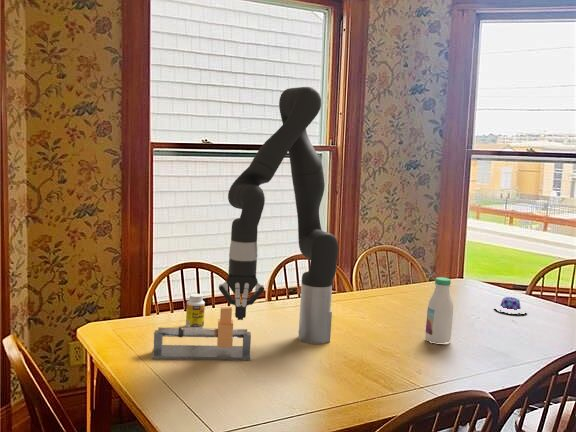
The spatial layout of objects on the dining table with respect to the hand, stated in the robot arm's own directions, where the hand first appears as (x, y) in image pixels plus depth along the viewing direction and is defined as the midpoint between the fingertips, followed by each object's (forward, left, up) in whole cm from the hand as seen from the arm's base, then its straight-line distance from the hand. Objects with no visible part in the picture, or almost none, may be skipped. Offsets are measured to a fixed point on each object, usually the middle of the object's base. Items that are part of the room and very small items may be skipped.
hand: (240, 319), depth 169 cm
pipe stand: (+10, 0, -10) cm, 14 cm away
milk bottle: (-62, -14, -10) cm, 65 cm away
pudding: (-104, -51, -11) cm, 116 cm away
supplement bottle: (+13, -24, -10) cm, 29 cm away
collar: (+4, 0, -7) cm, 8 cm away
